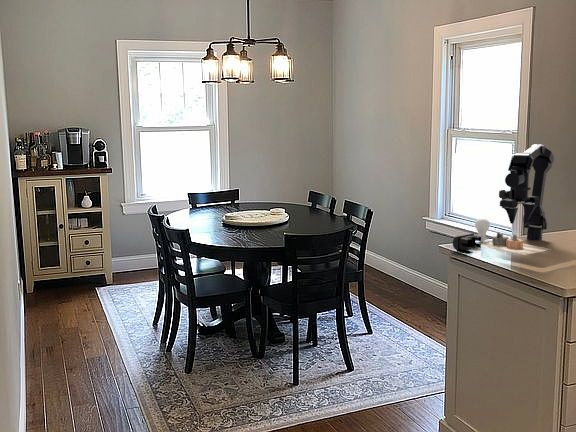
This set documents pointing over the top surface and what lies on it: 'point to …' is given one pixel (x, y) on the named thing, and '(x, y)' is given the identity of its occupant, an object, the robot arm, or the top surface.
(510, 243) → the loose gear
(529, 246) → the gear board
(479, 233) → the lightbulb
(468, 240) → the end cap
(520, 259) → the top surface
